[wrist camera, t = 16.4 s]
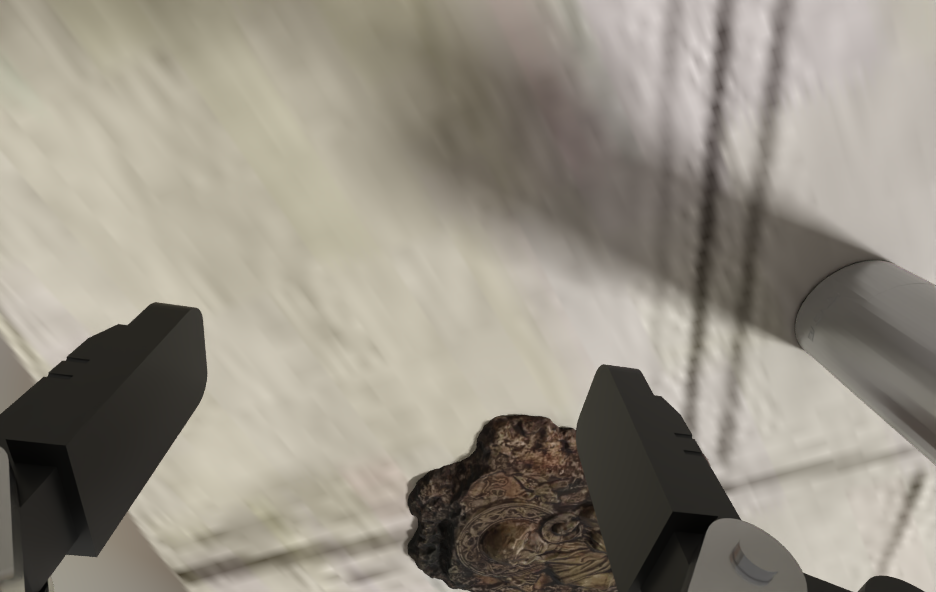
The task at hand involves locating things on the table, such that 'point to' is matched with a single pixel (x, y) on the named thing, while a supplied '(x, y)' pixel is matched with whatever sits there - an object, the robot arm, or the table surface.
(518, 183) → the table surface
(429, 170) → the table surface
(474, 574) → the stone relief
